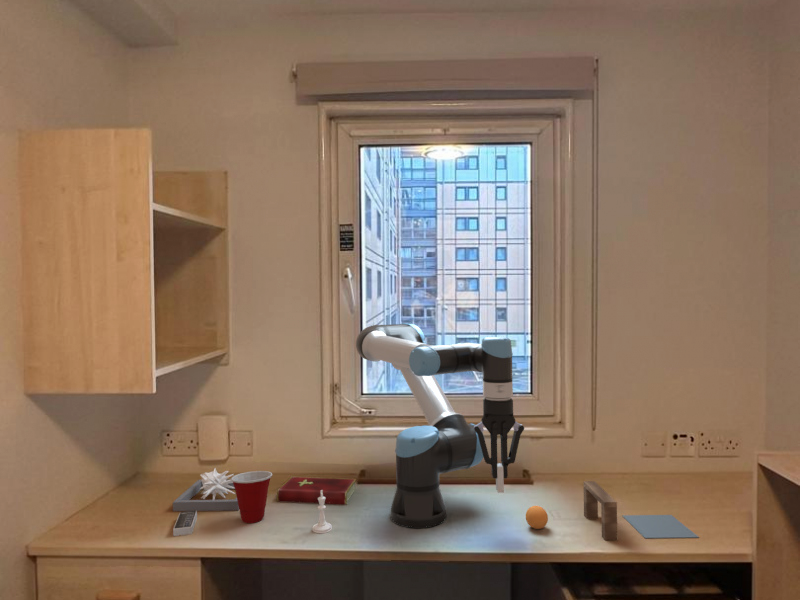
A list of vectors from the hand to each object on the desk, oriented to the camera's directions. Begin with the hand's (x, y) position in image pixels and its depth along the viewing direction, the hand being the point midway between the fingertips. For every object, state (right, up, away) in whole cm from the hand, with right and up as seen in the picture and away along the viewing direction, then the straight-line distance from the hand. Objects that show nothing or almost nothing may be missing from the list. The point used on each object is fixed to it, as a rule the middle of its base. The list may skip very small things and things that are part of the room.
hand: (499, 490), depth 133 cm
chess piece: (-46, -11, +2) cm, 47 cm away
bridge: (+25, -9, 0) cm, 27 cm away
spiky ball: (-80, -11, +25) cm, 85 cm away
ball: (+9, -7, 0) cm, 12 cm away
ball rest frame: (-80, -11, +24) cm, 85 cm away
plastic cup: (-65, -11, +9) cm, 67 cm away
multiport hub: (-82, -12, +5) cm, 83 cm away
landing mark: (+40, -9, 0) cm, 42 cm away
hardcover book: (-50, -11, +25) cm, 57 cm away
